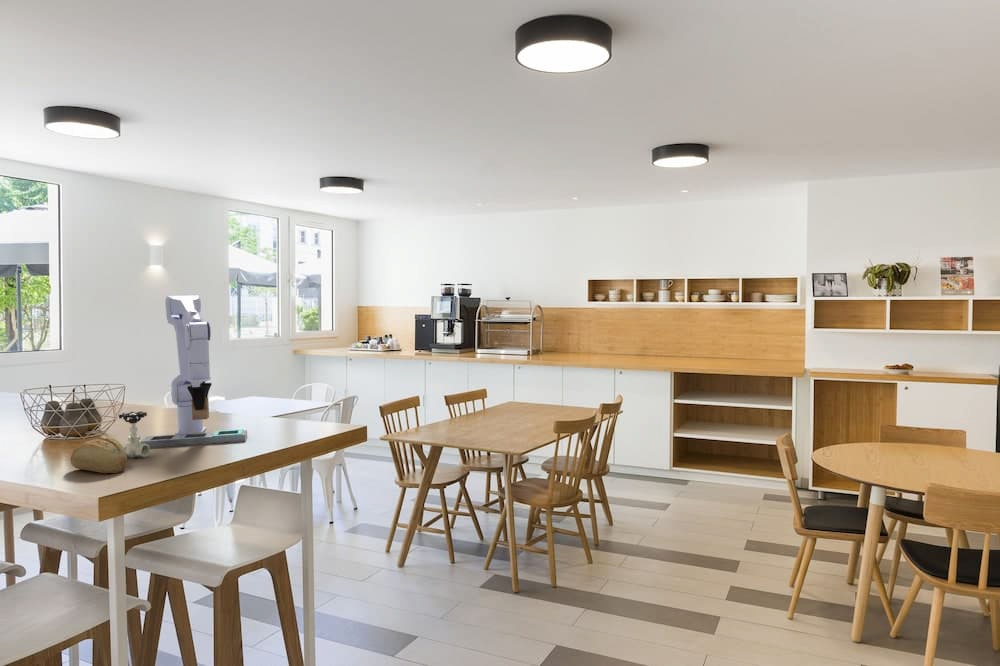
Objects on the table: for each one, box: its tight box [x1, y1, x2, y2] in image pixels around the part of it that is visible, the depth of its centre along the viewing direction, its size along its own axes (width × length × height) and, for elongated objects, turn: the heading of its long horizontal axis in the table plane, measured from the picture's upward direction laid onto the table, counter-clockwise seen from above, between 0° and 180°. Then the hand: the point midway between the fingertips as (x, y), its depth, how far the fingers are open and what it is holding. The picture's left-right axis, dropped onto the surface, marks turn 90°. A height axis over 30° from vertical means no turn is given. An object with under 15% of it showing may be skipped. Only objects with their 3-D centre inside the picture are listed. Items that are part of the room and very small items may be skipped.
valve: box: [118, 410, 151, 459], centre depth 184 cm, size 7×7×12 cm
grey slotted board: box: [140, 428, 248, 449], centre depth 203 cm, size 8×28×2 cm, turn 106°
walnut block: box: [192, 396, 210, 420], centre depth 203 cm, size 4×4×6 cm
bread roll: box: [69, 437, 128, 474], centre depth 170 cm, size 10×15×8 cm, turn 71°
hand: (200, 408), depth 203 cm, fingers closed on walnut block, 4 cm apart
